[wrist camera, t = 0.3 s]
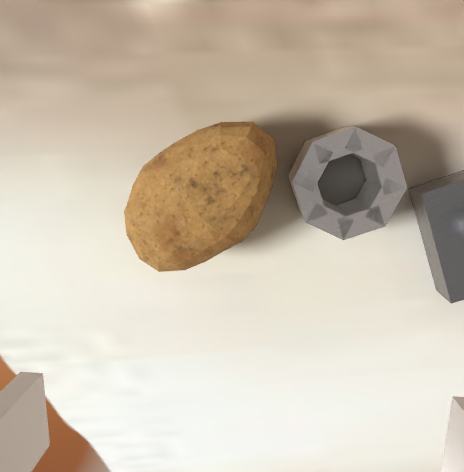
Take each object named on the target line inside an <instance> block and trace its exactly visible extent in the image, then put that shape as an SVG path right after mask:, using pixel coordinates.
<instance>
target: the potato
mask: <svg viewBox="0 0 464 472" xmlns="http://www.w3.org/2000/svg"><path fill="white" fill-rule="evenodd" d="M276 169H277V158H276V150H275V141H274V140H273V139H272V138H271V137H270V136H269V135H267V134H266V133H265V132H264V131H263V130H261V129H260V128H259V127H258V126H257V125H255V124H254V123H253V122H220V123H217V124H215V125H212V126H209V127H206V128H203V129H200V130H197V131H196V132H194V133H192V134H190V135H188V136H186V137H185V138H183V139H181V140H179V141H177V142H176V143H174V144H172V145H171V146H169V147H168V148H166V149H165V150H163V151H162V152H160V153H159V154H158V155H157V156H155V157H154V158H153V159H152V160H150V161H149V162H148V163H147V164H145V165H144V166H143V168H142V170H141V171H140V173H139V175H138V177H137V179H136V181H135V183H134V184H133V187H132V190H131V194H130V197H129V200H128V203H127V206H126V209H125V211H124V214H125V224H126V233H127V236H128V238H129V240H130V242H131V243H132V245H133V247H134V249H135V251H136V253H137V255H138V257H139V259H141V260H142V261H144V262H145V263H147V264H148V265H150V266H151V267H153V268H154V269H156V270H157V271H159V272H160V271H178V270H186V269H188V268H191V267H193V266H196V265H198V264H201V263H203V262H205V261H207V260H209V259H211V258H212V257H214V256H216V255H217V254H219V253H221V252H223V251H224V250H226V249H228V248H230V247H232V246H234V245H236V244H238V243H240V242H242V241H243V240H244V239H245V238H246V237H247V235H248V234H249V233H250V232H251V231H252V230H253V229H254V228H255V226H256V224H257V222H258V220H259V217H260V215H261V213H262V210H263V208H264V206H265V203H266V201H267V198H268V196H269V194H270V191H271V189H272V186H273V182H274V177H275V173H276Z"/></svg>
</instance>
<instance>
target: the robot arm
mask: <svg viewBox="0 0 464 472" xmlns="http://www.w3.org/2000/svg"><path fill="white" fill-rule="evenodd" d="M49 445H50V443H49V432H48V423H47V411H46V402H45V391H44V381H43V373H28V372H20V373H19V374H18V375H17V376H16V377H15V378H14V379H13V380H12V381H11V382H10V383H9V384H8V385H7V386H6V387H5V388H4V389H3V390H2V391H1V392H0V472H31V471H32V470H33V468H34V467H35V466H36V464H37V463H38V461H39V460H40V458H41V457H42V455H43V454H44V452H45V451H46V449H47V448H48V446H49ZM441 472H464V397H452V404H451V410H450V416H449V422H448V428H447V434H446V440H445V446H444V453H443V459H442V465H441Z"/></svg>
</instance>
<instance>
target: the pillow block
mask: <svg viewBox="0 0 464 472" xmlns="http://www.w3.org/2000/svg"><path fill="white" fill-rule="evenodd" d="M409 192H410V195H411V199H412V203H413V206H414V210H415V214H416V217H417V221H418V225H419V228H420V232H421V235H422V239H423V243H424V246H425V250H426V254H427V257H428V261H429V265H430V268H431V272H432V276H433V279H434V283H435V287H436V290H437V291H438V292H439V293H440V294H441V295H442V296H443V297H444V298H446V299H447V300H448V301H449V302H450V303H454V302H457V301H461V300H464V170H463V171H460V172H457V173H454V174H451V175H448V176H445V177H442V178H439V179H436V180H433V181H430V182H427V183H425V184H422V185H419V186H416V187H413V188H410V189H409Z"/></svg>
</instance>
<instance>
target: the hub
mask: <svg viewBox="0 0 464 472" xmlns="http://www.w3.org/2000/svg"><path fill="white" fill-rule="evenodd" d="M348 154H350V155H353V156H355V157H357V158H359V159H360V162H361V165H362V169H363V172H364V175H365V181H364V183H363V185H362V187H361V189H360V190H359V192H358V194H357V196H356V198H355V199H352V200H349V201H346V202H343V203H340V204H337V205H333V204H331V203H329V202H327V201H325V200H322V197H321V194H320V191H319V187H318V184H317V183H318V181H319V179H320V177H321V175H322V174H323V172H324V170H325V168H326V166H327V164H328V162H329V161H331V160H334V159H337V158H339V157H342V156H345V155H348ZM288 177H289V180H290V183H291V186H292V189H293V192H294V195H295V198H296V201H297V204H298V207H299V210H300V212H301V214H302V216H303V218H304V220H305V222H306V223H308V224H310V225H312V226H315V227H317V228H319V229H321V230H323V231H325V232H327V233H330V234H332V235H334V236H336V237H338V238H340V239H342V240H345V239H348V238H351V237H354V236H357V235H360V234H363V233H366V232H369V231H373V230H376V229H379V228H382V227H385V226H386V224H387V222H388V221H389V219H390V217H391V215H392V214H393V212H394V210H395V208H396V207H397V205H398V203H399V201H400V200H401V198H402V196H403V195H404V193H405V191H406V189H407V185H406V181H405V177H404V174H403V170H402V166H401V163H400V159H399V155H398V152H397V148H396V146H395V145H393V144H391V143H389V142H387V141H385V140H383V139H381V138H379V137H377V136H375V135H373V134H371V133H368V132H366V131H364V130H362V129H360V128H358V127H356V126H355V127H341V128H339V129H336V130H333V131H330V132H328V133H325V134H322V135H320V136H317V137H314V138H311V139H309V140H306V141H305V142H304V144H303V146H302V148H301V150H300V152H299V154H298V156H297V158H296V160H295V162H294V165H293V167H292V169H291V171H290V173H289V175H288Z"/></svg>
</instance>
